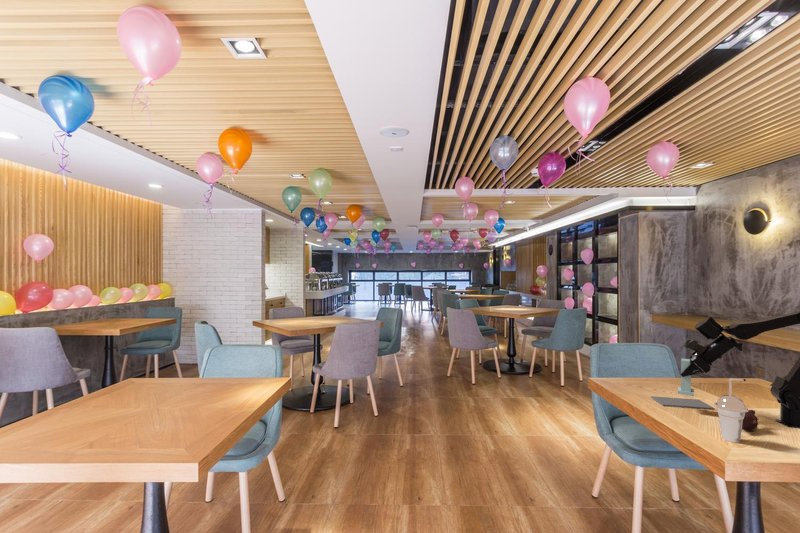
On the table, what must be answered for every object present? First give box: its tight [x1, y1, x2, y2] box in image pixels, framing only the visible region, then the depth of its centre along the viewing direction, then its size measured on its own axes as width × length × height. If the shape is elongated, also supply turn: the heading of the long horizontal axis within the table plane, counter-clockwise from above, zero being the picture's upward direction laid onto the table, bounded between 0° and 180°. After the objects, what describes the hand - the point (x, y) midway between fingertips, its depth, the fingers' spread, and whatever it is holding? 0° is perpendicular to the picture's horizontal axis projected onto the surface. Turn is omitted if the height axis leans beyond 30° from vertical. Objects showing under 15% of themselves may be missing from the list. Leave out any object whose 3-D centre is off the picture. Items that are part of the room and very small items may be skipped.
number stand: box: [677, 358, 695, 397], centre depth 161 cm, size 5×7×12 cm
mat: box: [650, 395, 716, 411], centre depth 170 cm, size 12×18×1 cm, turn 79°
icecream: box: [742, 409, 759, 432], centre depth 141 cm, size 7×7×15 cm
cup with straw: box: [713, 377, 749, 444], centre depth 132 cm, size 8×9×20 cm
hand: (681, 374), depth 162 cm, fingers closed on number stand, 5 cm apart
